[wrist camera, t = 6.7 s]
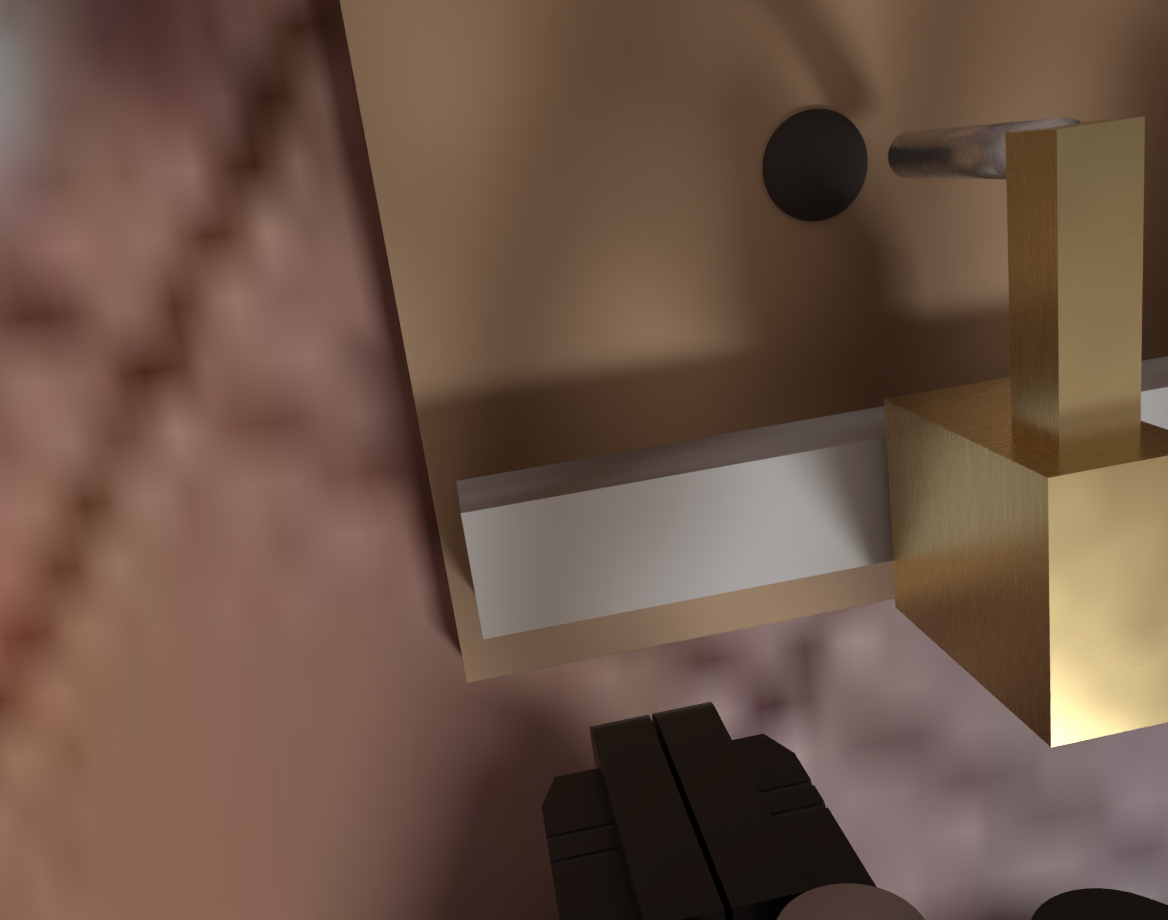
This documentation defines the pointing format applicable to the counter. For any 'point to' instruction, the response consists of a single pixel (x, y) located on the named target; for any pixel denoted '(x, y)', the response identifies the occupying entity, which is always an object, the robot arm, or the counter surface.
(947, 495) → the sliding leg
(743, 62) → the board
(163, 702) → the counter surface
